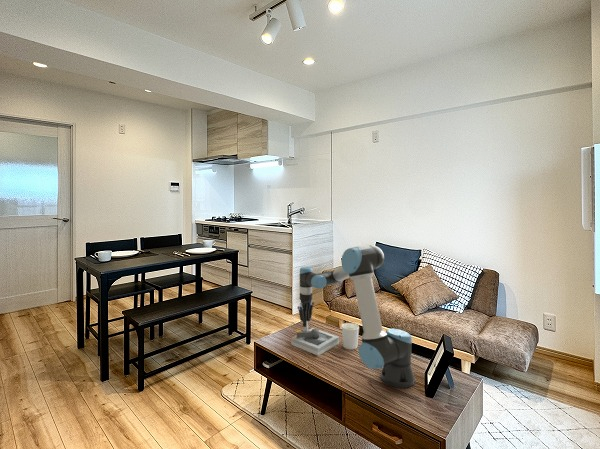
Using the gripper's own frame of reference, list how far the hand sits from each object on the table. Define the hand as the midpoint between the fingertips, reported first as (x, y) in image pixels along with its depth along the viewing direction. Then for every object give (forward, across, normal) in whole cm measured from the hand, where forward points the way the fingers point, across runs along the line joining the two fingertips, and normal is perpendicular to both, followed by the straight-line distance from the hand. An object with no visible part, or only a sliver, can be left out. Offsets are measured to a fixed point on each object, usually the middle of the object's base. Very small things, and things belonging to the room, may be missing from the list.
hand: (305, 331), depth 192 cm
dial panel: (+6, 0, +7) cm, 9 cm away
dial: (+3, +2, +6) cm, 7 cm away
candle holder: (+6, -11, +24) cm, 27 cm away
